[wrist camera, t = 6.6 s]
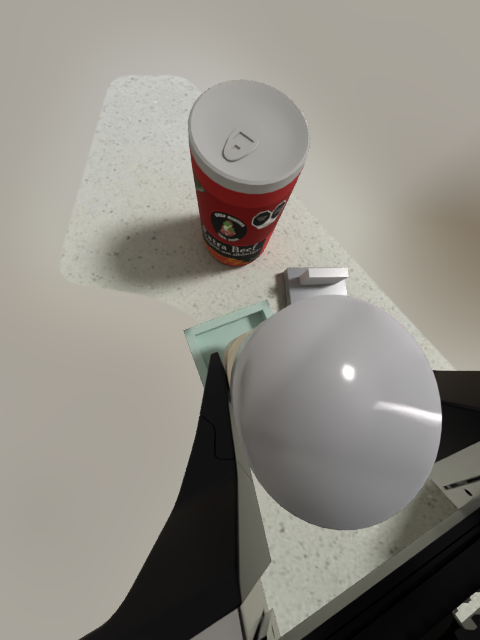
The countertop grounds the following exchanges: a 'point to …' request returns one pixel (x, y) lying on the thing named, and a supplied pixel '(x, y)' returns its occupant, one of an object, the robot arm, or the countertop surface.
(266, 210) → the canned food
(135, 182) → the countertop surface
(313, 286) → the holder
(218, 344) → the square frame
